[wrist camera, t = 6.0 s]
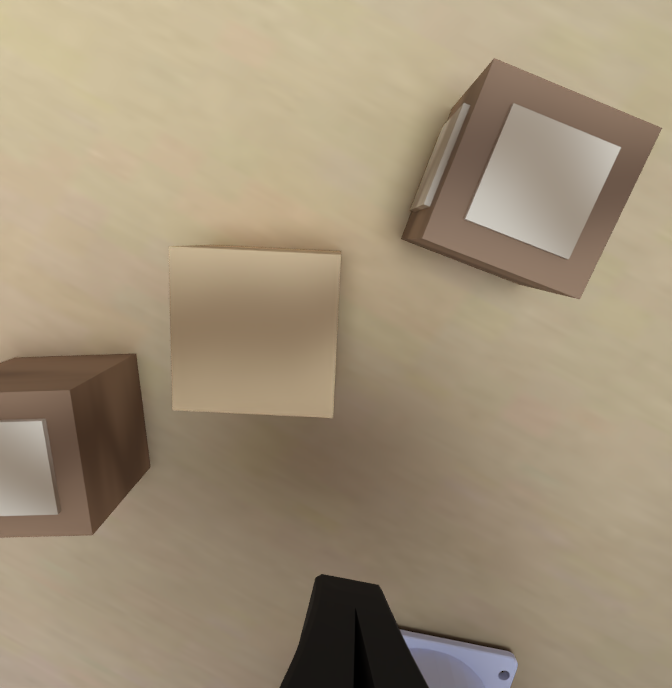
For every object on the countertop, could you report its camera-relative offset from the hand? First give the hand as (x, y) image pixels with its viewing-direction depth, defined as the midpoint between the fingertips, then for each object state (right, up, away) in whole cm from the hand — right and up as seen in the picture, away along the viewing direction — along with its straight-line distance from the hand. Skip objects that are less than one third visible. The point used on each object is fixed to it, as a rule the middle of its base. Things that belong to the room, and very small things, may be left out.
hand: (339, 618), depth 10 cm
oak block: (-3, +7, +9) cm, 12 cm away
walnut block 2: (+6, +11, +8) cm, 15 cm away
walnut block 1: (-11, +3, +10) cm, 15 cm away
